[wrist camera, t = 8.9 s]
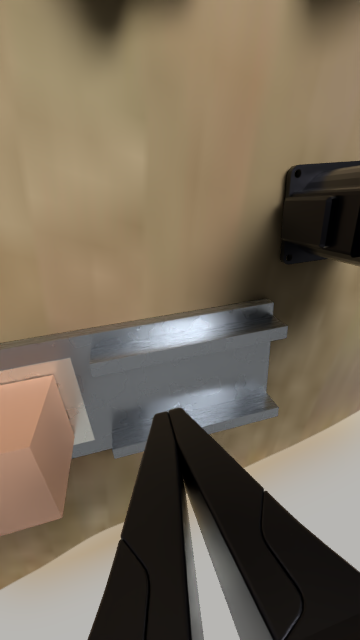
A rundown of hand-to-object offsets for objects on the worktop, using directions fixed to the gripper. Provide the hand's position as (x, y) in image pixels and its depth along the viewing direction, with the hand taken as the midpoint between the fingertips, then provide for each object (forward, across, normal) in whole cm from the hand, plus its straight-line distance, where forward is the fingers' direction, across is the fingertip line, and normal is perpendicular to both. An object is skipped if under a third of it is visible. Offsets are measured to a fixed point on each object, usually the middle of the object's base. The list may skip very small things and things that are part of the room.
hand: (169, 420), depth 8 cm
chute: (+12, +3, +7) cm, 14 cm away
